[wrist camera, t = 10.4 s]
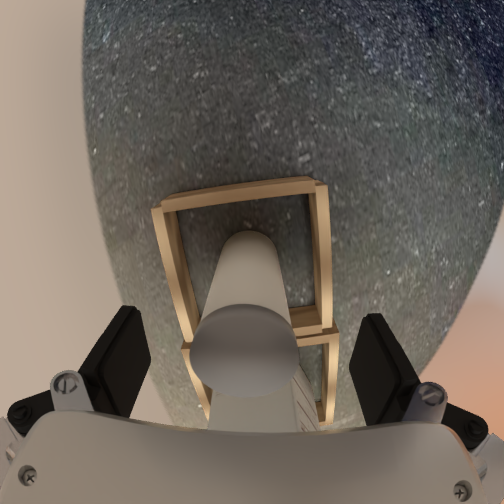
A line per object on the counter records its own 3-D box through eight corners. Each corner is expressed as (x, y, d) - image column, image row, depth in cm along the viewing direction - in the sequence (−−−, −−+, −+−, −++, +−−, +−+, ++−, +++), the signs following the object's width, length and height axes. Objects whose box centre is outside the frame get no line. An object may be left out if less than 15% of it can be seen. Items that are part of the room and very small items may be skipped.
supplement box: (249, 404, 29) (246, 505, 17) (215, 360, 26) (196, 474, 15) (312, 383, 28) (333, 488, 16) (286, 334, 25) (304, 455, 13)
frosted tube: (219, 228, 22) (184, 314, 11) (280, 230, 22) (305, 317, 11) (220, 283, 23) (194, 394, 12) (276, 284, 23) (293, 397, 12)
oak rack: (155, 197, 21) (141, 204, 18) (324, 174, 20) (335, 178, 18) (216, 415, 29) (214, 434, 27) (327, 404, 29) (332, 423, 26)
